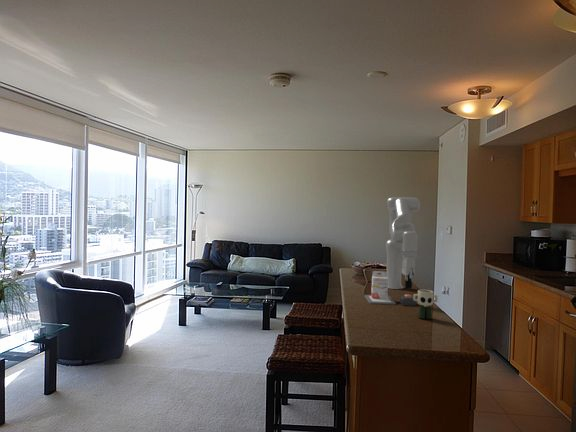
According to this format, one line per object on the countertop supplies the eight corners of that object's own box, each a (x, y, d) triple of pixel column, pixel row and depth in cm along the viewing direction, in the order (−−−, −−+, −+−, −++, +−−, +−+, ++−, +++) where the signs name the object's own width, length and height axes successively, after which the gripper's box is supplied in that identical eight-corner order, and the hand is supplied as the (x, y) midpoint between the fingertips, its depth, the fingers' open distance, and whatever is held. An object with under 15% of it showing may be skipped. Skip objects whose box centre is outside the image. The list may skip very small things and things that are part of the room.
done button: (403, 297, 229) (403, 294, 229) (410, 298, 229) (410, 294, 229) (405, 299, 225) (405, 295, 225) (412, 299, 225) (412, 295, 225)
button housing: (399, 302, 231) (399, 295, 231) (412, 302, 231) (412, 296, 230) (402, 305, 224) (402, 298, 224) (415, 305, 224) (416, 299, 223)
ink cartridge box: (372, 298, 234) (373, 272, 233) (371, 296, 239) (371, 270, 238) (387, 299, 233) (388, 272, 233) (386, 297, 238) (387, 271, 238)
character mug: (413, 319, 196) (414, 291, 195) (411, 315, 203) (412, 288, 202) (438, 321, 194) (439, 293, 193) (435, 317, 201) (436, 290, 200)
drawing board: (364, 296, 243) (364, 294, 243) (389, 297, 242) (389, 295, 242) (369, 303, 225) (369, 301, 225) (395, 304, 224) (395, 302, 224)
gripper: (399, 252, 234) (398, 285, 234) (405, 255, 219) (404, 290, 219) (412, 253, 234) (411, 286, 234) (420, 255, 219) (419, 290, 219)
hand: (408, 288), depth 226 cm, fingers closed
